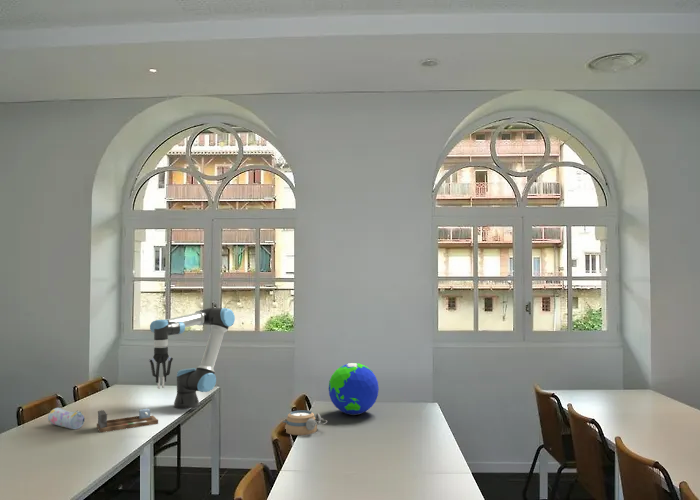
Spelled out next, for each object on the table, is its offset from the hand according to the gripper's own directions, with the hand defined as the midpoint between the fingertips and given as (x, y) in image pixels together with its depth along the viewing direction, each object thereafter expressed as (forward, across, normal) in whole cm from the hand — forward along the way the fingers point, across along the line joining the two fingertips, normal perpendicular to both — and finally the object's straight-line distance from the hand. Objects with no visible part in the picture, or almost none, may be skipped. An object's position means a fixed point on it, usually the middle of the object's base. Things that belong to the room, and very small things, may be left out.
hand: (160, 388), depth 322 cm
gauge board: (+18, +18, 0) cm, 26 cm away
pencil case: (+19, +47, -17) cm, 53 cm away
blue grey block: (+16, +9, +2) cm, 19 cm away
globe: (+19, -99, +50) cm, 112 cm away
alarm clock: (+19, -60, +64) cm, 90 cm away
